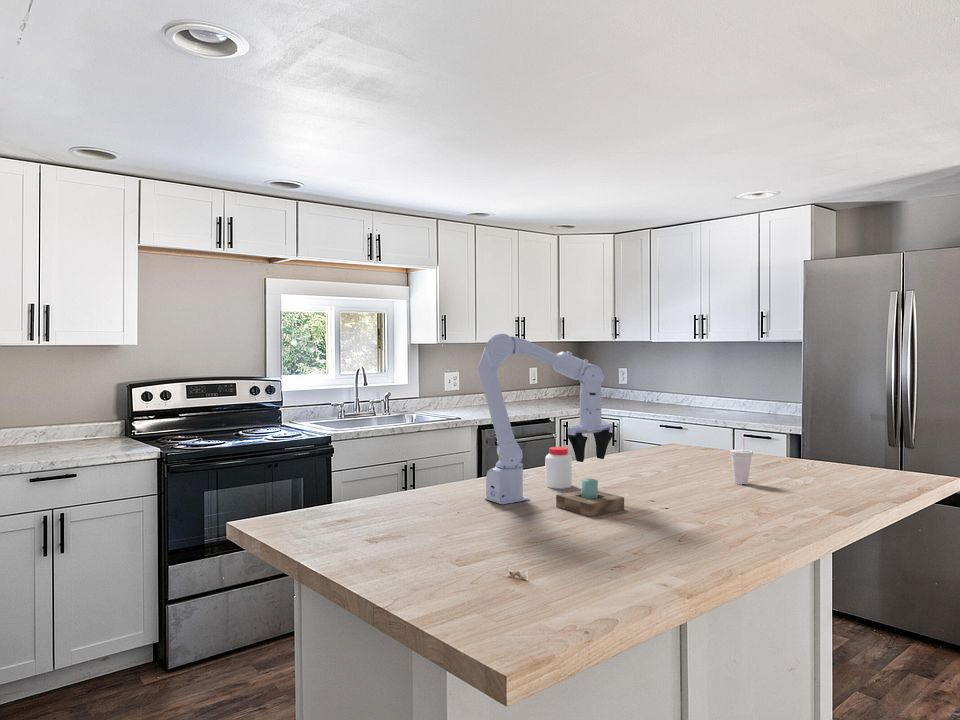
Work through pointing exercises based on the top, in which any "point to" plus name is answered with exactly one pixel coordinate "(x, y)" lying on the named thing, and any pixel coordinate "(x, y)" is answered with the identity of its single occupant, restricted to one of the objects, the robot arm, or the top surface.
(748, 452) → the smoothie
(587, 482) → the dowel
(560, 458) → the pill bottle
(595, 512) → the socket block
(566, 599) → the top surface
